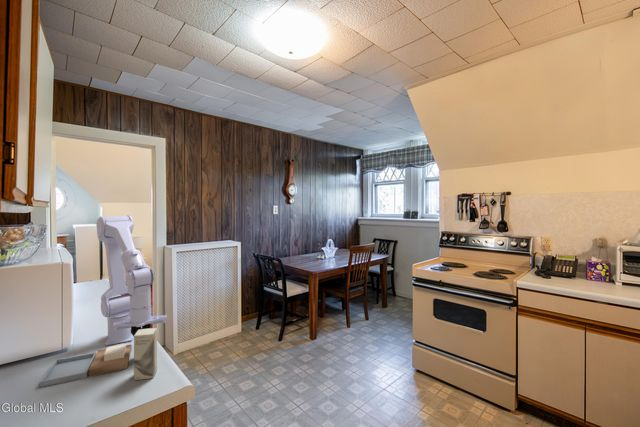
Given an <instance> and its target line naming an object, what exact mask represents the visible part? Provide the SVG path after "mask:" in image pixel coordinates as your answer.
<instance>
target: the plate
mask: <svg viewBox="0 0 640 427" xmlns="http://www.w3.org/2000/svg"><path fill="white" fill-rule="evenodd" d="M106 349H107V348H105V349H99V350H97V352H96V356H95V358H94V360H93V362H92V364H91V366H90V369H89V374H88V377H89V378H90V377H95V376H96V377H97V376H99V375H105V374H110V373H114V372H119V371H123V370H127V368H128V365H129V361H130V358H131V354H132V344H126V353H125V356H124V358H119V359H114V360H109V361H104V354H105V351H106Z"/></svg>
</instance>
